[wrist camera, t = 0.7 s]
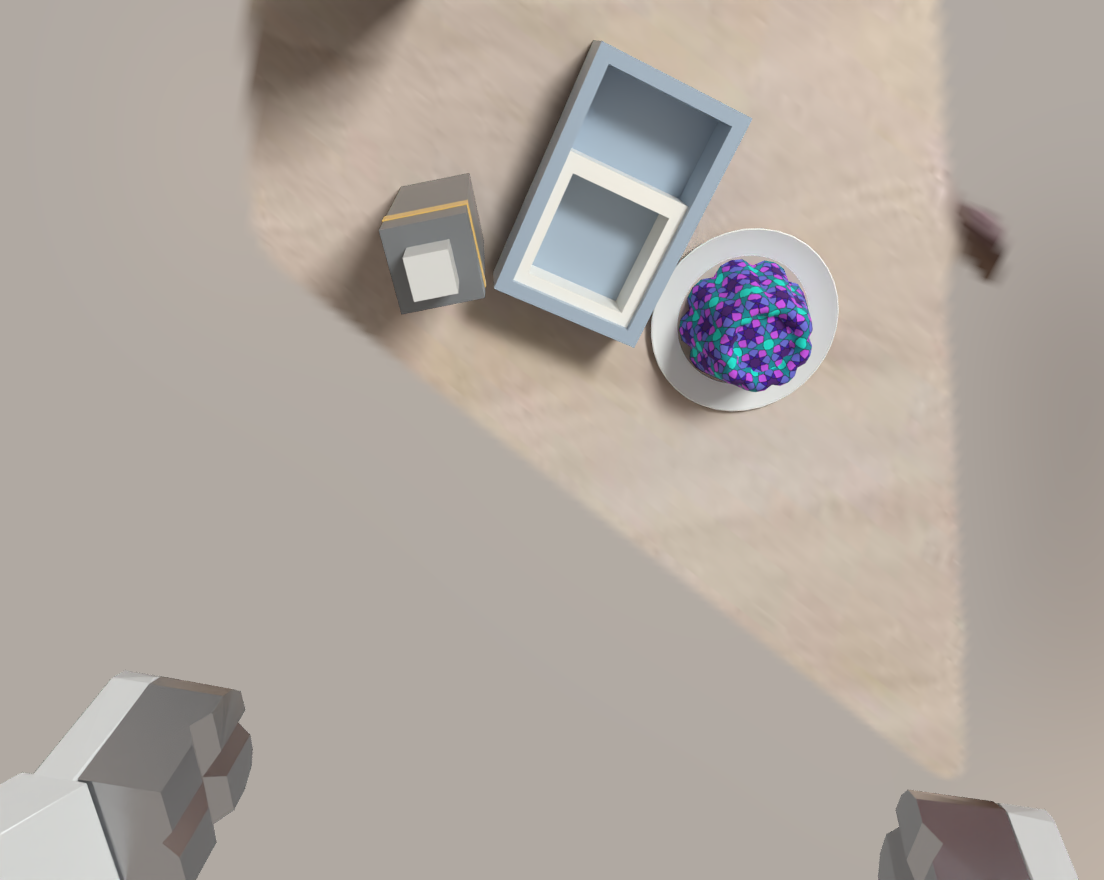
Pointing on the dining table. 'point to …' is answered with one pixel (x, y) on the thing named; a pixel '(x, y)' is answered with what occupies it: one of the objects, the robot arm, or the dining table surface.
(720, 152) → the walled box
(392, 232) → the grey bottle
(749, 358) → the pudding
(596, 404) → the dining table surface
